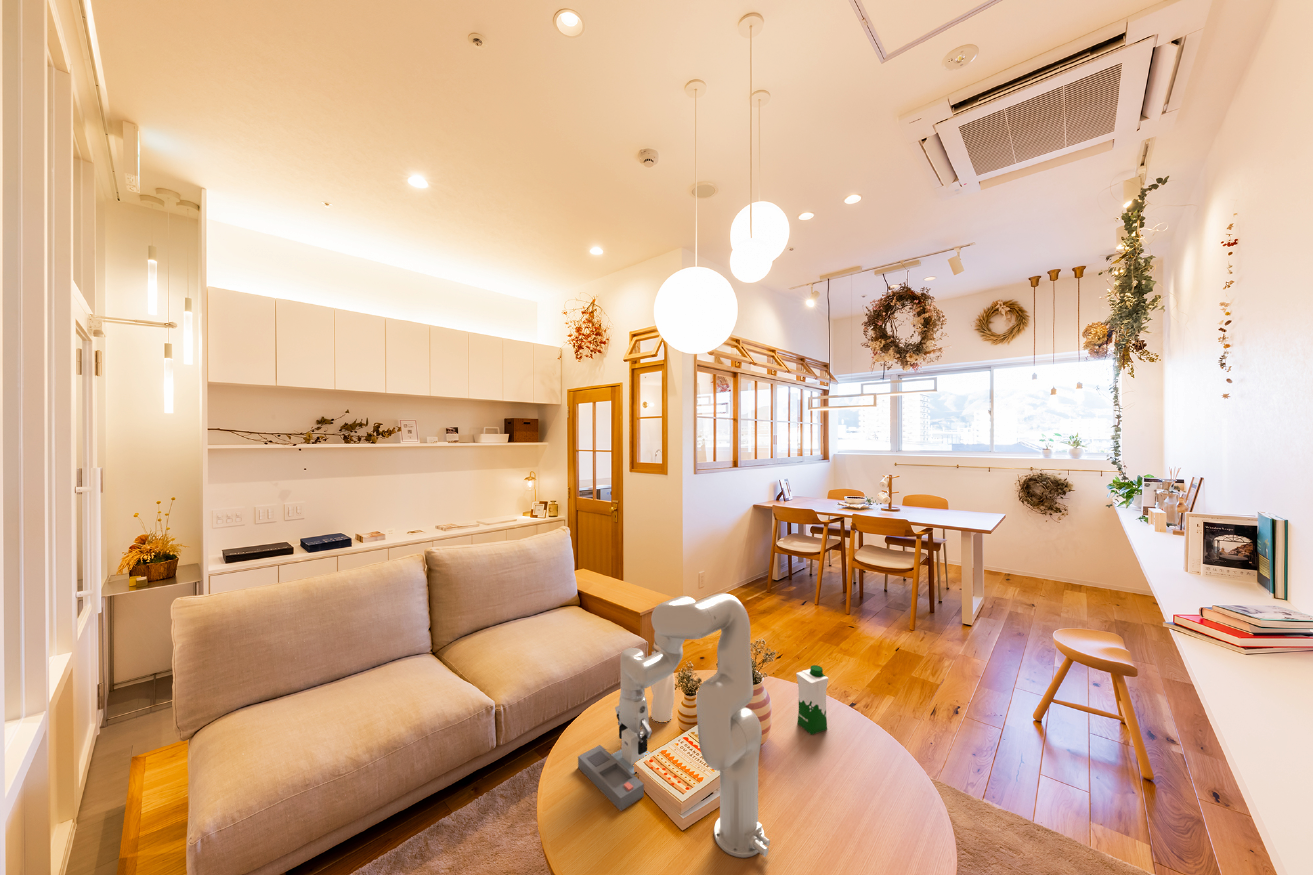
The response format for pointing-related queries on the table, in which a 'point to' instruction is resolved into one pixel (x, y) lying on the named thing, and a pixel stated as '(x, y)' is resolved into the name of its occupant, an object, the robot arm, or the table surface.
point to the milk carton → (812, 699)
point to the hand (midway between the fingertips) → (632, 744)
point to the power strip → (611, 777)
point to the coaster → (619, 757)
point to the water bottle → (662, 695)
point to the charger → (630, 746)
